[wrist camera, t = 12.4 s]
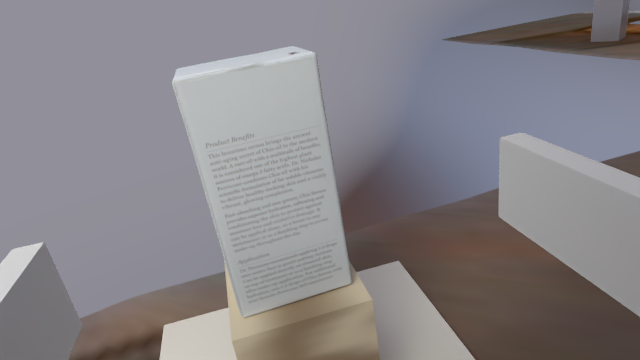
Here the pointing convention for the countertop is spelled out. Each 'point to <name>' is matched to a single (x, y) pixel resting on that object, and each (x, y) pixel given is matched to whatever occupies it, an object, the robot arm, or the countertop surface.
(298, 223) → the skincare box
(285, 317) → the upper block
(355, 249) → the countertop surface
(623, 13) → the soap dispenser
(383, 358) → the plate
